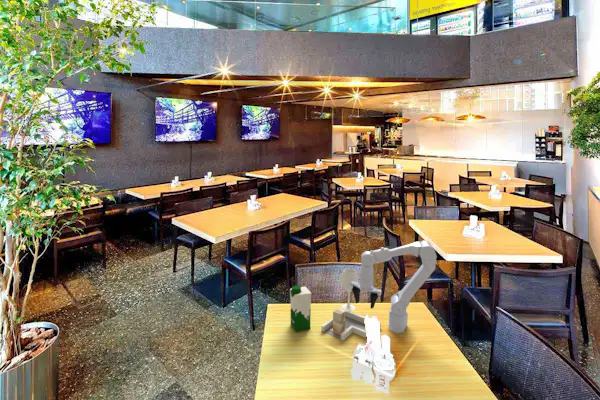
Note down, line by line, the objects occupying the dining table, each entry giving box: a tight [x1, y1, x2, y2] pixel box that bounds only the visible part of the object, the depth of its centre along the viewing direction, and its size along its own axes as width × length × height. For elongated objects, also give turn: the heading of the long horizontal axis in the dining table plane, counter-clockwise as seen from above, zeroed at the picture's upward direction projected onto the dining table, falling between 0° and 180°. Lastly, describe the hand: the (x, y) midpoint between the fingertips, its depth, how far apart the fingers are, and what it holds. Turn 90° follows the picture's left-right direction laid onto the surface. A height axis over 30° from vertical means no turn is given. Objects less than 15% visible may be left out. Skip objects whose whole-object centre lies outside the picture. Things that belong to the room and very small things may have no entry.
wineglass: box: [339, 267, 359, 312], centre depth 161 cm, size 9×9×21 cm
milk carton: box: [289, 285, 312, 333], centre depth 144 cm, size 9×9×20 cm
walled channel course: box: [320, 309, 382, 341], centre depth 142 cm, size 19×20×3 cm
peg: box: [332, 307, 345, 333], centre depth 141 cm, size 4×4×9 cm
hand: (364, 305), depth 145 cm, fingers open, 7 cm apart
